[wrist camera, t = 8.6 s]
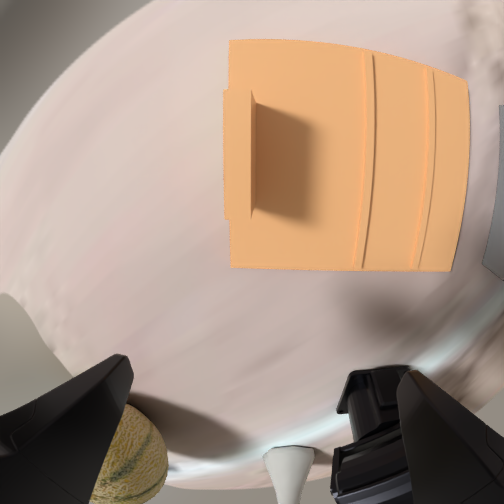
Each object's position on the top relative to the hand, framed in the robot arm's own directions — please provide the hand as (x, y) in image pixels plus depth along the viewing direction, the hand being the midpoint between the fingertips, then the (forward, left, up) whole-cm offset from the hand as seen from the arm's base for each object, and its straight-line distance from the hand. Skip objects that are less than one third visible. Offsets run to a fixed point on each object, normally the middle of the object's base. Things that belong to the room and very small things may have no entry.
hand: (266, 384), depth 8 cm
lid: (+6, -6, -11) cm, 14 cm away
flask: (-30, -4, -12) cm, 32 cm away
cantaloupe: (-23, +17, -12) cm, 31 cm away
